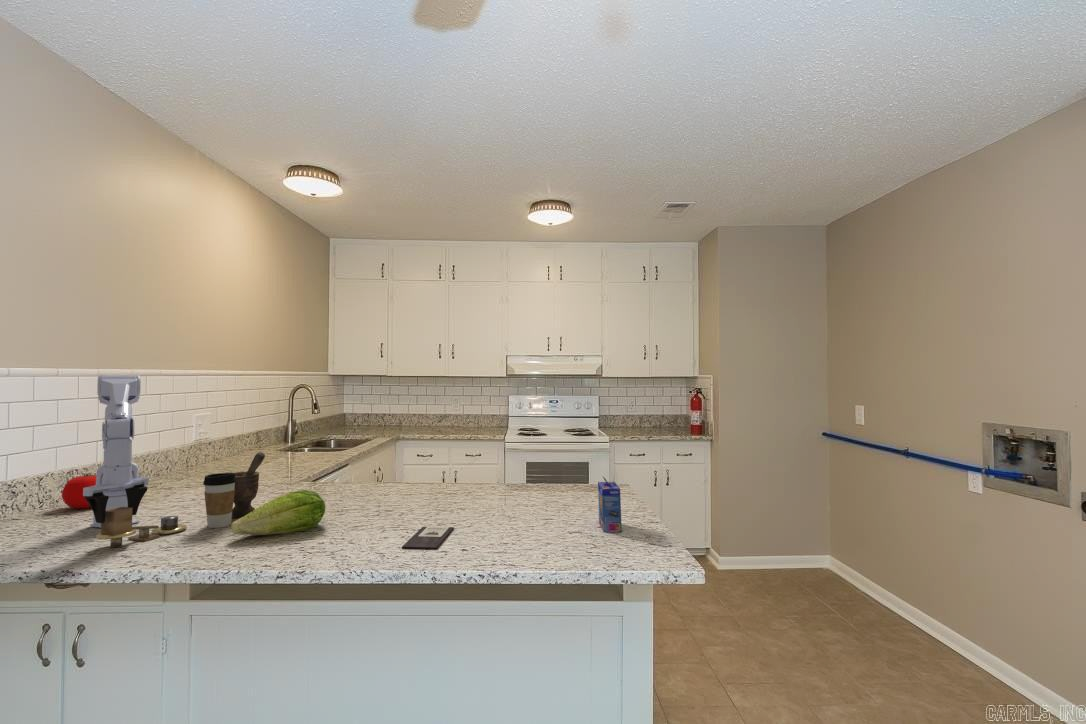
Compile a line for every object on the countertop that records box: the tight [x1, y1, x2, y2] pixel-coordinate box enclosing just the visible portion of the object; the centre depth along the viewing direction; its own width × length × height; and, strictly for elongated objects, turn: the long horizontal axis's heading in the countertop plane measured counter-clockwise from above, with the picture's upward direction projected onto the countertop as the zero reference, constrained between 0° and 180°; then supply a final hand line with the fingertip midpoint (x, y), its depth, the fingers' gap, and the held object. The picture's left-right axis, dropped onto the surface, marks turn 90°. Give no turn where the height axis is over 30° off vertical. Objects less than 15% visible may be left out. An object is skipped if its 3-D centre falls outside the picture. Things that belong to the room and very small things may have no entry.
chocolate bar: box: [401, 526, 455, 551], centre depth 144 cm, size 9×1×18 cm
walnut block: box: [100, 507, 133, 536], centre depth 137 cm, size 4×4×6 cm
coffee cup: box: [202, 472, 236, 529], centre depth 157 cm, size 8×8×15 cm
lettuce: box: [230, 489, 326, 536], centre depth 150 cm, size 12×24×13 cm
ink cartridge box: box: [597, 476, 623, 533], centre depth 154 cm, size 10×6×14 cm, turn 2°
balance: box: [95, 515, 187, 549], centre depth 144 cm, size 8×22×4 cm, turn 162°
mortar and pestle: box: [232, 451, 266, 519], centre depth 168 cm, size 12×9×20 cm
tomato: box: [61, 473, 102, 510], centre depth 179 cm, size 12×13×11 cm
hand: (116, 518), depth 138 cm, fingers open, 7 cm apart
